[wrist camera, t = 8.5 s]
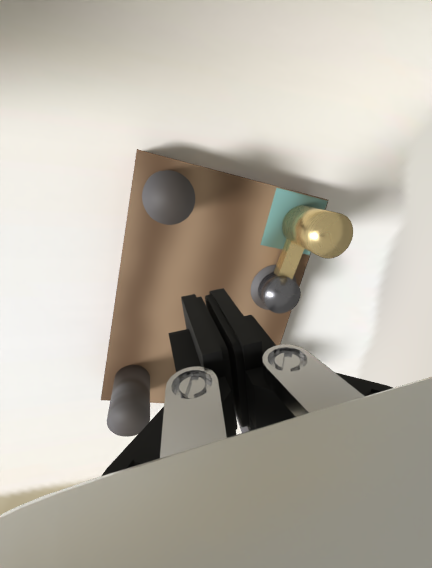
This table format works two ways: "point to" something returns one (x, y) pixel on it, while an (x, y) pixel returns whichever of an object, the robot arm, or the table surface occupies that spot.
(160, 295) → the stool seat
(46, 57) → the table surface
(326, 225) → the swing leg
